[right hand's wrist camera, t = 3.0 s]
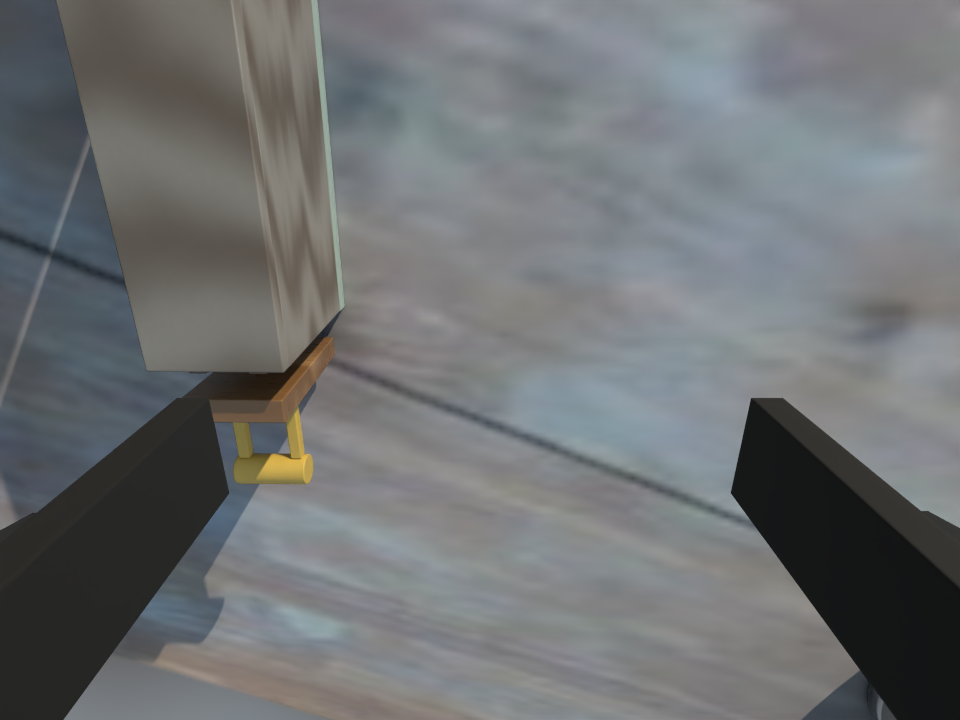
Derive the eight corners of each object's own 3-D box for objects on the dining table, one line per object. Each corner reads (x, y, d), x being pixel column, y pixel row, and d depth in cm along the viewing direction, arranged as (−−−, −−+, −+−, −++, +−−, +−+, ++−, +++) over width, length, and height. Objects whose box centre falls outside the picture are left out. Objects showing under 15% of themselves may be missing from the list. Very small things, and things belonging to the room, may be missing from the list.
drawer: (343, 432, 34) (299, 519, 26) (271, 431, 34) (205, 518, 26) (297, -26, 25) (208, -112, 17) (199, -27, 25) (63, -114, 17)
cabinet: (344, 306, 32) (284, 373, 22) (248, 305, 32) (145, 372, 22) (306, -121, 24) (190, -302, 15) (180, -122, 24) (-21, -304, 15)
